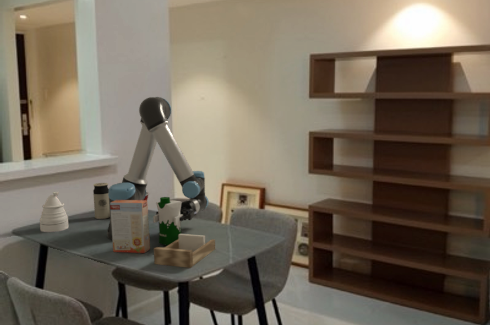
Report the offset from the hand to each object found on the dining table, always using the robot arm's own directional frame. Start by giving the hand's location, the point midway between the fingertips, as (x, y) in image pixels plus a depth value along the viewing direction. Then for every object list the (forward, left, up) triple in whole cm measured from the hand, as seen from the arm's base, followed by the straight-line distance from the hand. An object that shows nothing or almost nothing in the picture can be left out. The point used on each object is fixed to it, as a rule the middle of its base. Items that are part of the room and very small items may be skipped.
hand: (164, 220), depth 206 cm
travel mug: (-58, +37, -12) cm, 70 cm away
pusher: (+14, -4, -11) cm, 18 cm away
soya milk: (0, +4, -11) cm, 12 cm away
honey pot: (-68, +12, -12) cm, 70 cm away
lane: (+14, -8, -11) cm, 20 cm away
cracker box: (-11, -9, -12) cm, 18 cm away
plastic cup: (-42, +48, -12) cm, 65 cm away
